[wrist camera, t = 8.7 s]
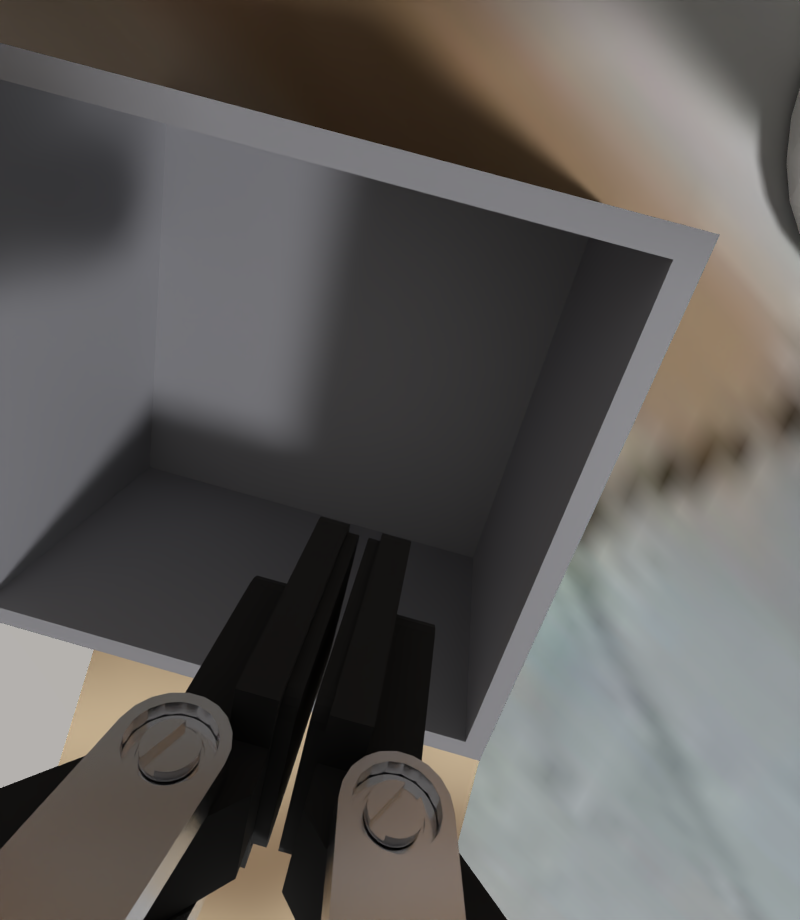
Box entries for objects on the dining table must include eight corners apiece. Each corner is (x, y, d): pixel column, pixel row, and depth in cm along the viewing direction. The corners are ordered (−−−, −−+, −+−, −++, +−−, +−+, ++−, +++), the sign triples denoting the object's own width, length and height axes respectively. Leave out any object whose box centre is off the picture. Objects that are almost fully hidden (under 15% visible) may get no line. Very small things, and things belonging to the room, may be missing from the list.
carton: (159, 91, 20) (-111, 13, 11) (613, 213, 20) (719, 234, 11) (143, 468, 27) (-34, 612, 18) (482, 564, 26) (479, 760, 17)
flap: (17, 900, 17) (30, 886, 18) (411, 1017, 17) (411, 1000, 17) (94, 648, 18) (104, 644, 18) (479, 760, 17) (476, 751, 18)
